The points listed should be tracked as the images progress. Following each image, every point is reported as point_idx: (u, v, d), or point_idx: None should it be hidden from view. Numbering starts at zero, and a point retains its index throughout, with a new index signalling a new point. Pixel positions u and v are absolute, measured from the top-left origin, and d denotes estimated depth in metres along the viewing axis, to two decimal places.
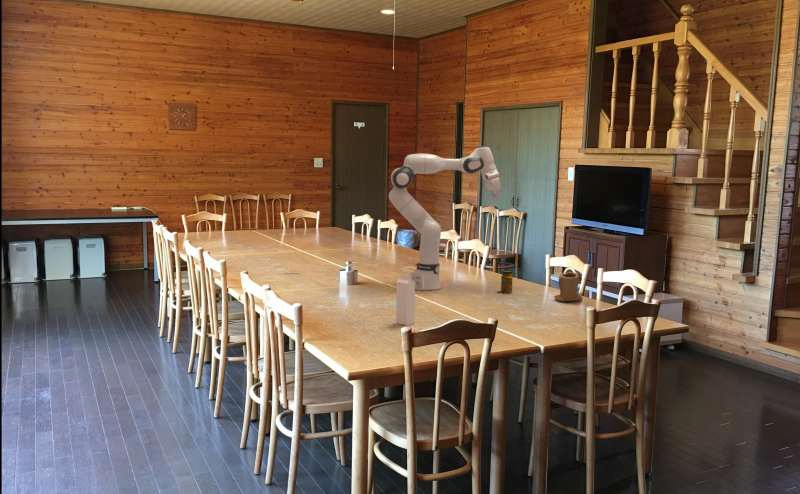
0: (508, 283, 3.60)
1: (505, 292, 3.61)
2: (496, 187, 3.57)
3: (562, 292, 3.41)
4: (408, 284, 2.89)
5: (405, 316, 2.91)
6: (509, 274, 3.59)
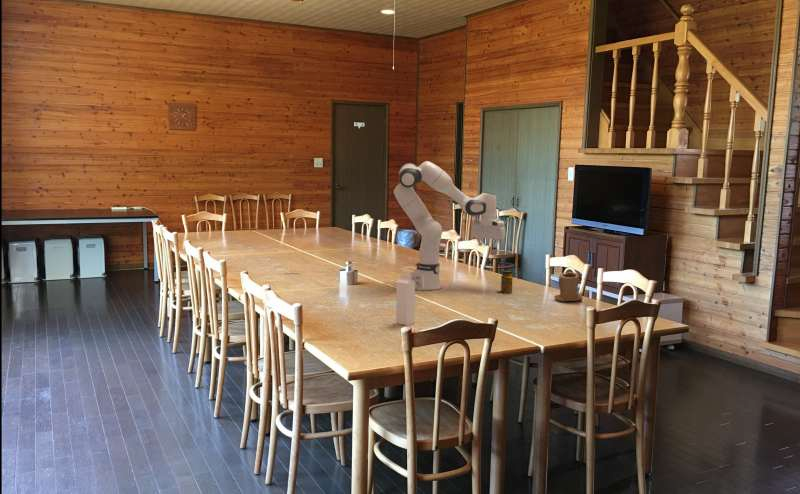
0: (508, 283, 3.60)
1: (505, 292, 3.61)
2: (503, 235, 3.59)
3: (562, 292, 3.41)
4: (408, 284, 2.89)
5: (405, 316, 2.91)
6: (509, 274, 3.59)
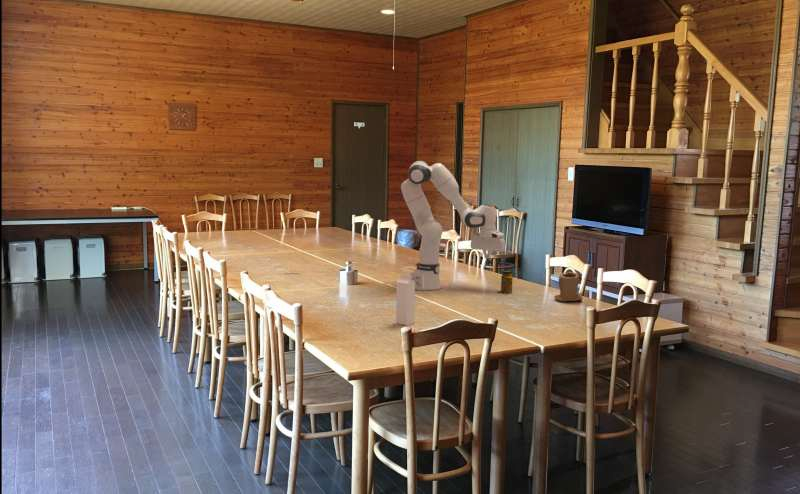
0: (508, 283, 3.60)
1: (505, 292, 3.61)
2: (503, 247, 3.60)
3: (562, 292, 3.41)
4: (408, 284, 2.89)
5: (405, 316, 2.91)
6: (509, 274, 3.59)
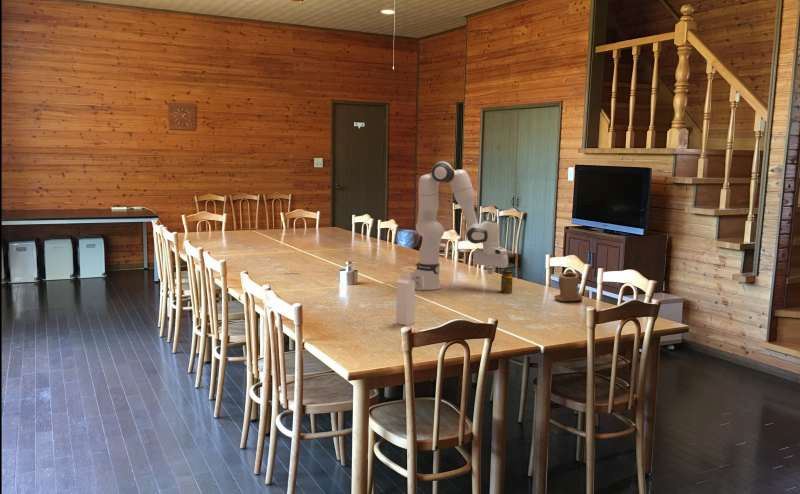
0: (508, 283, 3.60)
1: (505, 292, 3.61)
2: (506, 263, 3.60)
3: (562, 292, 3.41)
4: (408, 284, 2.89)
5: (405, 316, 2.91)
6: (509, 274, 3.59)
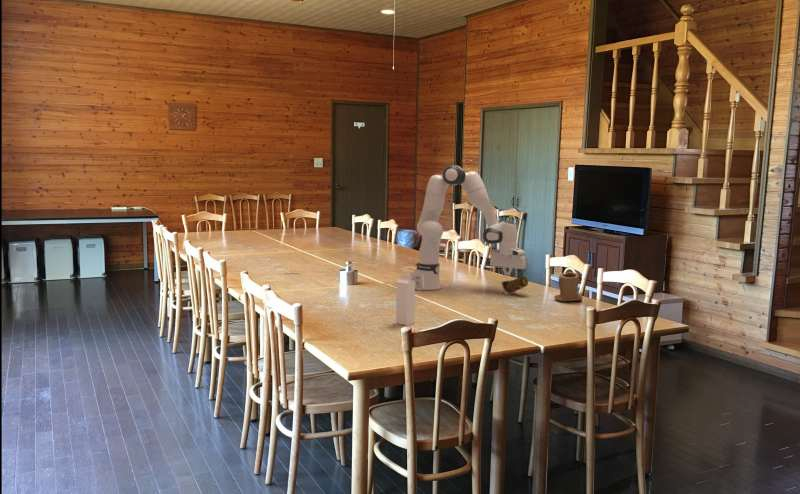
0: (516, 289, 3.55)
1: (508, 290, 3.59)
2: (524, 264, 3.54)
3: (562, 292, 3.41)
4: (408, 284, 2.89)
5: (405, 316, 2.91)
6: (523, 286, 3.52)
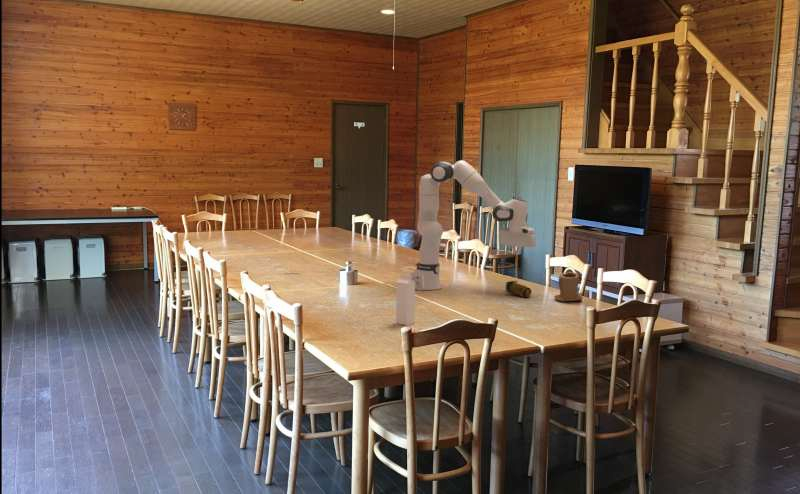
0: None
1: (509, 291, 3.58)
2: (533, 243, 3.49)
3: (562, 292, 3.41)
4: (408, 284, 2.89)
5: (405, 316, 2.91)
6: (525, 296, 3.51)
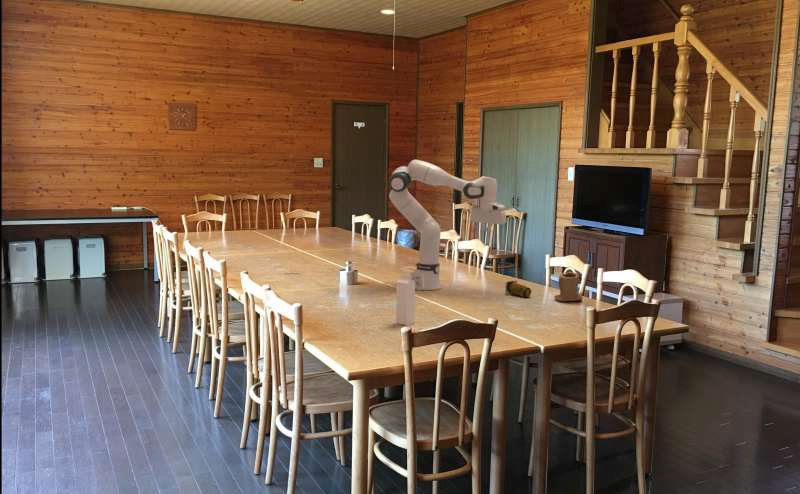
0: None
1: (509, 291, 3.58)
2: (503, 219, 3.49)
3: (562, 292, 3.41)
4: (408, 284, 2.89)
5: (405, 316, 2.91)
6: (525, 296, 3.51)
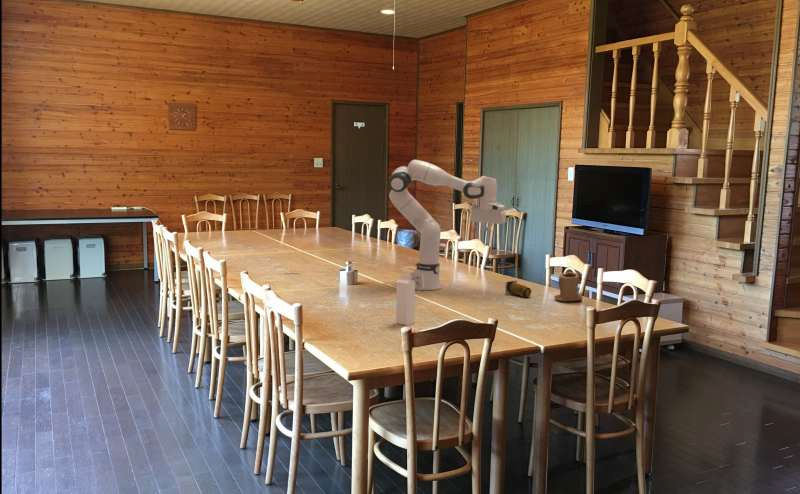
0: None
1: (509, 291, 3.58)
2: (503, 219, 3.49)
3: (562, 292, 3.41)
4: (408, 284, 2.89)
5: (405, 316, 2.91)
6: (525, 296, 3.51)
